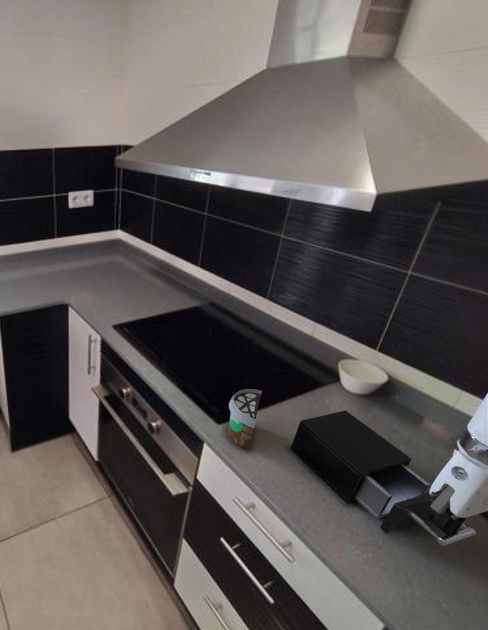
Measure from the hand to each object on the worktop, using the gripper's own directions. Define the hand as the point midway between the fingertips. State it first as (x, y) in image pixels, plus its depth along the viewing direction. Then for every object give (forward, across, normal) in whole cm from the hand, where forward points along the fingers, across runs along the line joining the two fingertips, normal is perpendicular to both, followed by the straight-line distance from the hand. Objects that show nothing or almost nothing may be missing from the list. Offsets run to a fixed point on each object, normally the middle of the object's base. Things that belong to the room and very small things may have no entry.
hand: (441, 526), depth 65 cm
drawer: (+5, 0, +7) cm, 8 cm away
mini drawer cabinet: (+6, 0, +18) cm, 19 cm away
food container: (+6, -15, +33) cm, 37 cm away
